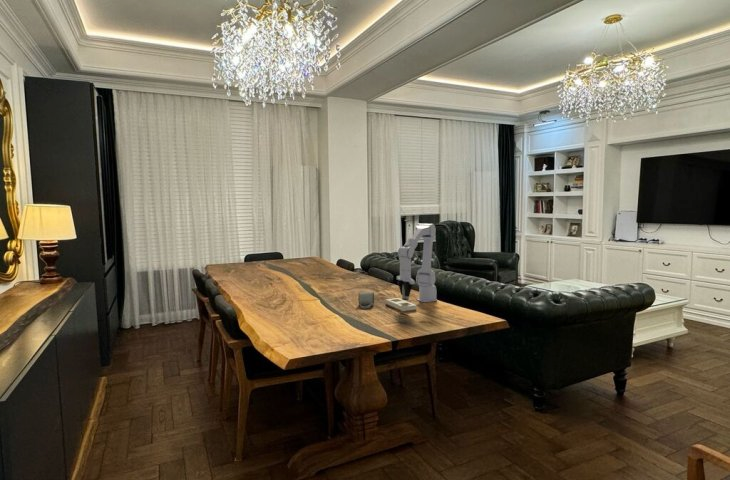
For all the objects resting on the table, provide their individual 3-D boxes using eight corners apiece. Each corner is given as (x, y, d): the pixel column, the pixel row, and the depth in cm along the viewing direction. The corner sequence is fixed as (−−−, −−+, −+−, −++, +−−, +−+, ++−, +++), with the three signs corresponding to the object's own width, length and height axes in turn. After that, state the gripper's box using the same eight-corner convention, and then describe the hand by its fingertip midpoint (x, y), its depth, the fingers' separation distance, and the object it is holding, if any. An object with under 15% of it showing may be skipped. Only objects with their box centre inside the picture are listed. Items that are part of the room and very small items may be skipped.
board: (398, 303, 236) (398, 297, 236) (416, 310, 220) (416, 305, 220) (385, 304, 232) (385, 299, 232) (403, 312, 216) (403, 306, 216)
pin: (405, 298, 224) (405, 283, 223) (410, 299, 221) (410, 284, 221) (400, 299, 222) (400, 284, 221) (405, 300, 219) (405, 285, 218)
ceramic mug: (359, 303, 235) (359, 290, 234) (374, 304, 234) (374, 290, 233) (357, 309, 224) (357, 294, 223) (372, 309, 223) (372, 295, 223)
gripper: (391, 268, 225) (391, 293, 226) (406, 272, 212) (406, 299, 213) (402, 267, 228) (402, 292, 229) (418, 271, 215) (417, 297, 216)
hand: (405, 295), depth 221 cm, fingers closed on pin, 3 cm apart
